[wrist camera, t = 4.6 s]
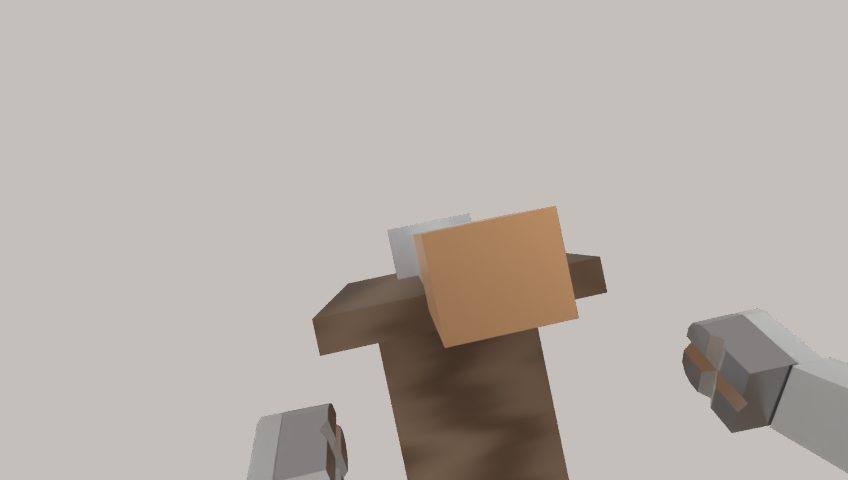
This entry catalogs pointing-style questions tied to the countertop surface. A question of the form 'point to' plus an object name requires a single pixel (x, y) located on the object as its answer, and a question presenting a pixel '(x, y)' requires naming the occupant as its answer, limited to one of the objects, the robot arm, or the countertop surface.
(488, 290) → the grey tan flat bar
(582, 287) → the stand
